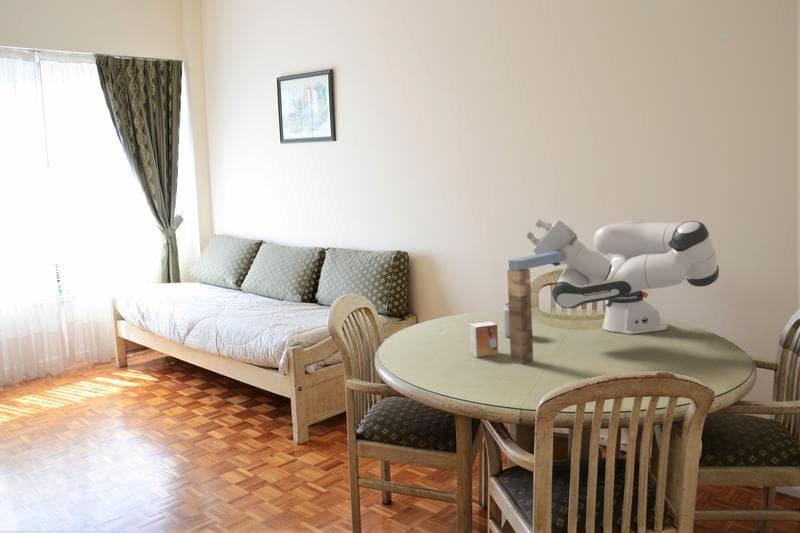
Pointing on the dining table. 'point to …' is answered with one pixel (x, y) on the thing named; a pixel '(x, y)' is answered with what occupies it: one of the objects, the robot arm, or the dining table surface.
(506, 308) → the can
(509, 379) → the dining table surface
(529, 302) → the stand
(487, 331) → the small box
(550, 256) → the blue bar
